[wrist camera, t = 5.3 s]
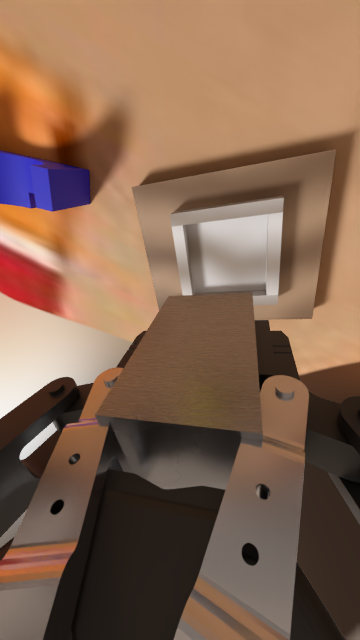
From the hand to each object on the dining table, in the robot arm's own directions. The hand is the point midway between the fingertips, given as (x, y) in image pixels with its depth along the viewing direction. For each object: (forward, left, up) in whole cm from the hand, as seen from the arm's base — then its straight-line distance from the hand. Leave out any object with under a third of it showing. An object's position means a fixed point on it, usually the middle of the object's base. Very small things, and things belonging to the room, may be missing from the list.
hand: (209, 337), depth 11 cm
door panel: (0, 0, -15) cm, 15 cm away
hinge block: (0, 0, -1) cm, 1 cm away
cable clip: (-9, -19, -15) cm, 26 cm away
